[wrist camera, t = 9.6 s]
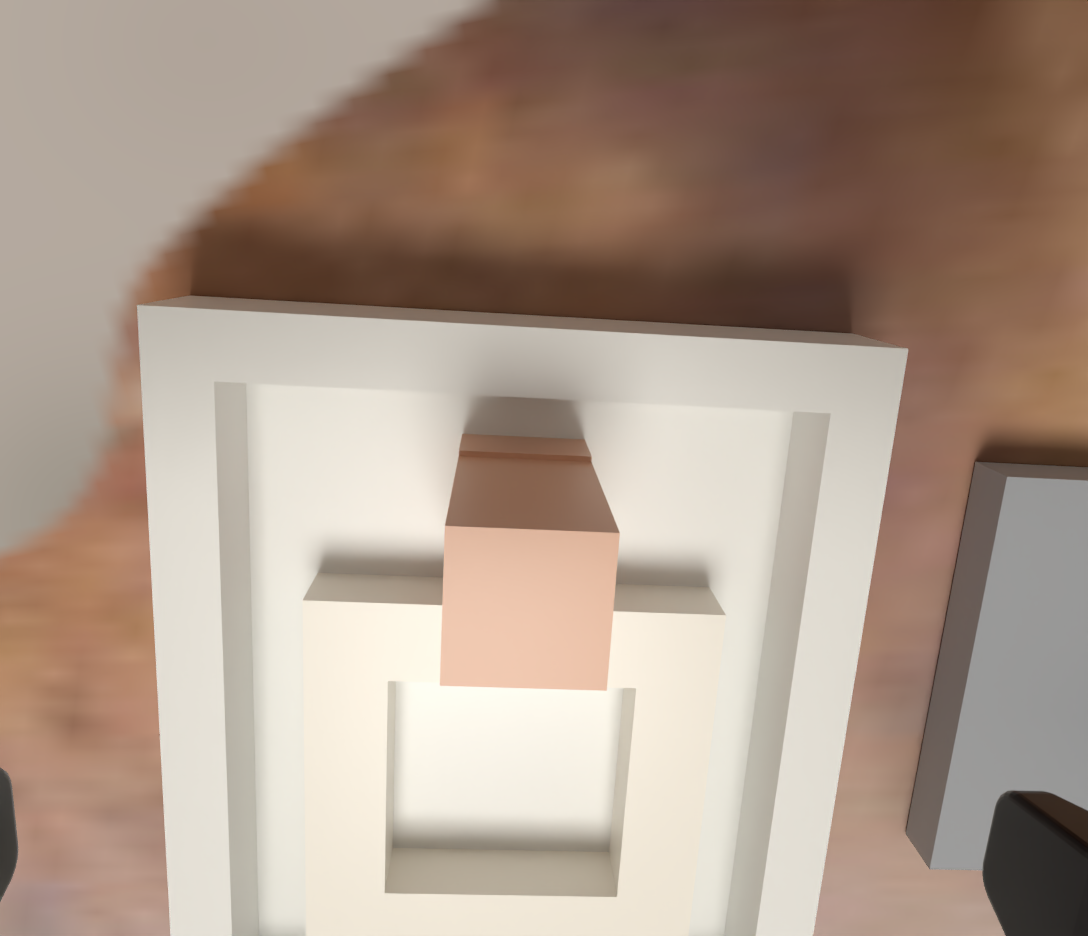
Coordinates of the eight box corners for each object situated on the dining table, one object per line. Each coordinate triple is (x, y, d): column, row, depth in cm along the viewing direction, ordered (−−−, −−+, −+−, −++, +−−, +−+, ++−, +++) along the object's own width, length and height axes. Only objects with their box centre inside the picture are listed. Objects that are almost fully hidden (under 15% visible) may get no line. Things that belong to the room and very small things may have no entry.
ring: (725, 445, 18) (819, 534, 12) (673, 913, 20) (732, 1147, 15) (316, 426, 17) (234, 510, 12) (319, 907, 20) (253, 1147, 15)
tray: (853, 333, 18) (908, 348, 15) (756, 989, 22) (788, 1084, 19) (189, 295, 17) (136, 305, 15) (215, 982, 21) (178, 1080, 18)
